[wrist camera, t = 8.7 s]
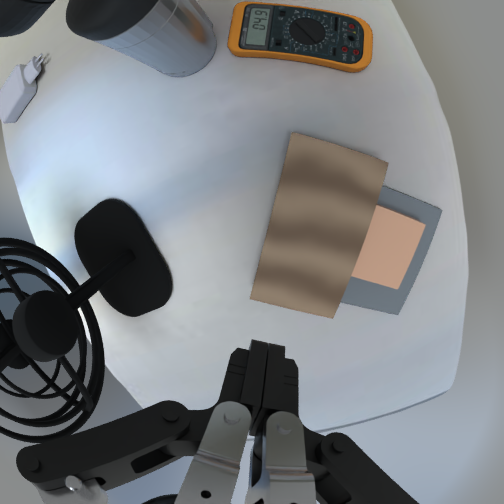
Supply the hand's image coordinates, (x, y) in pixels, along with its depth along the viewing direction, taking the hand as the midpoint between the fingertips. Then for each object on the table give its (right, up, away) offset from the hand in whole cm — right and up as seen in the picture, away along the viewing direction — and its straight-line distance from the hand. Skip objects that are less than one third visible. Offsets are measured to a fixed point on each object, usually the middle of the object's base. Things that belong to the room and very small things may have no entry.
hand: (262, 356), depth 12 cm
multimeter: (+6, +33, +16) cm, 37 cm away
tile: (+18, +6, +23) cm, 30 cm away
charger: (-46, +39, +20) cm, 63 cm away
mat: (+19, +4, +24) cm, 31 cm away
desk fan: (-23, +3, +31) cm, 39 cm away
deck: (+8, +8, +24) cm, 27 cm away
